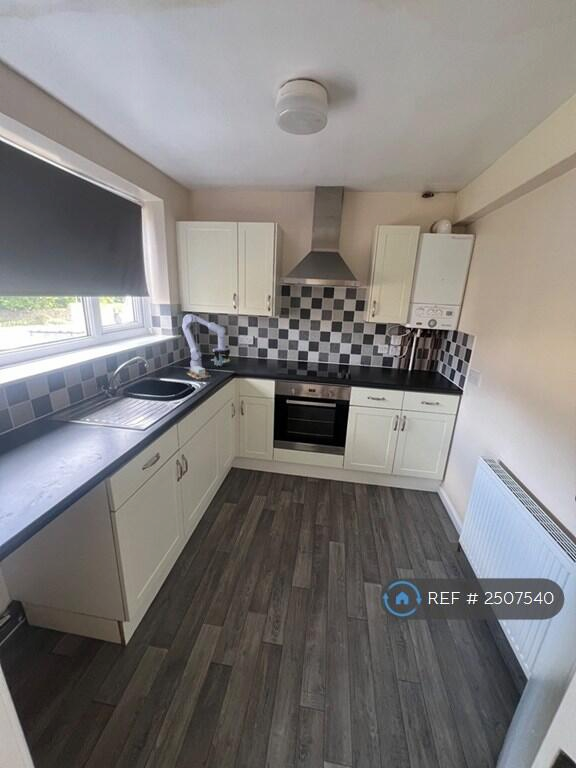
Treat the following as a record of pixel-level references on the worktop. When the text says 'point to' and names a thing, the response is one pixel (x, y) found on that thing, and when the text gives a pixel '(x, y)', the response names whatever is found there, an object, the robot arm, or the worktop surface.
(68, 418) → the worktop surface
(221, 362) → the toy figure
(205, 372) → the cradle jig
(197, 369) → the block
